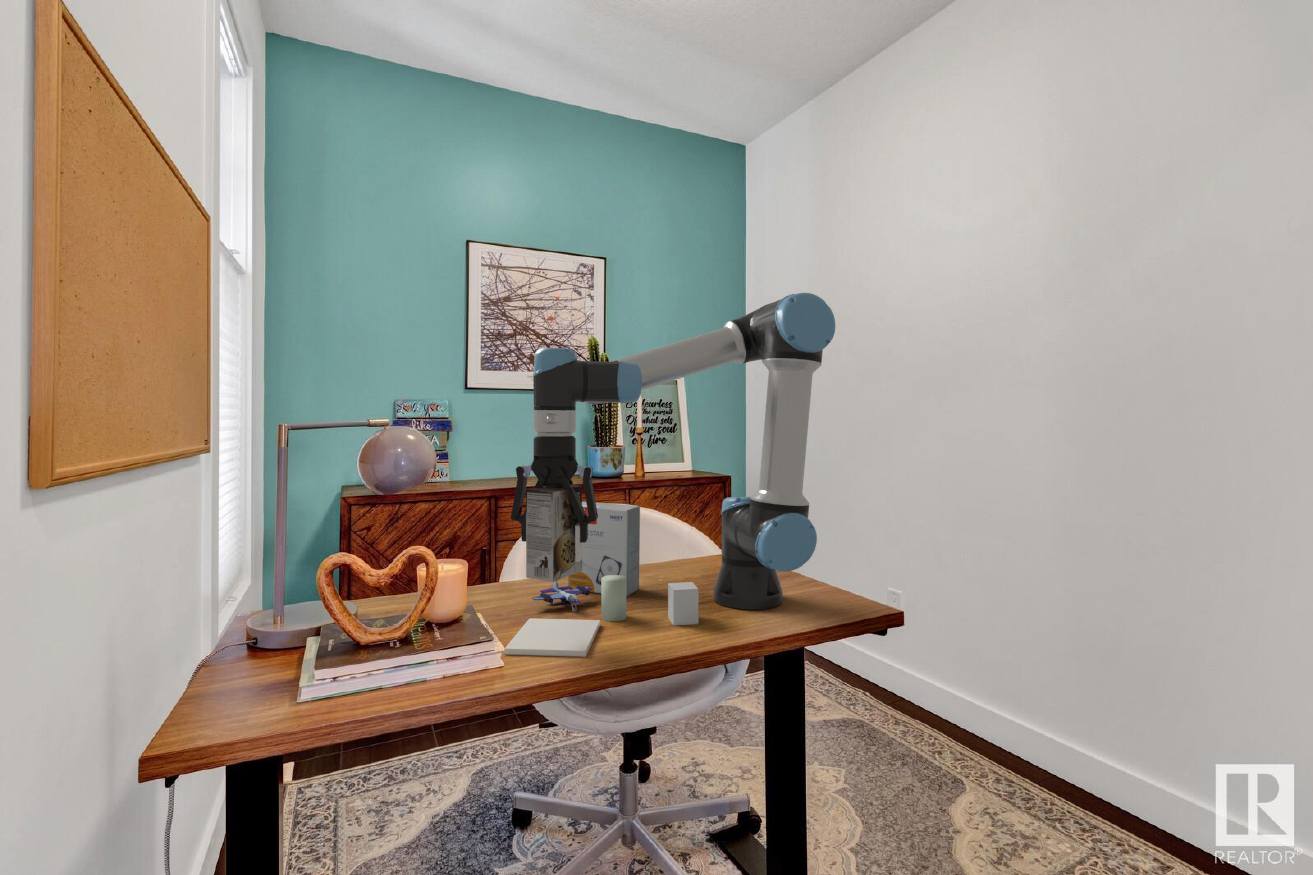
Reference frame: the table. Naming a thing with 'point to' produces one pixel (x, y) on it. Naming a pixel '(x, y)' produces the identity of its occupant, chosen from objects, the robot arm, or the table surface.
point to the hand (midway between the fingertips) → (554, 559)
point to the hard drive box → (610, 547)
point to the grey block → (683, 603)
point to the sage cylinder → (613, 598)
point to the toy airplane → (563, 594)
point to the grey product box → (550, 533)
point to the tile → (554, 637)
